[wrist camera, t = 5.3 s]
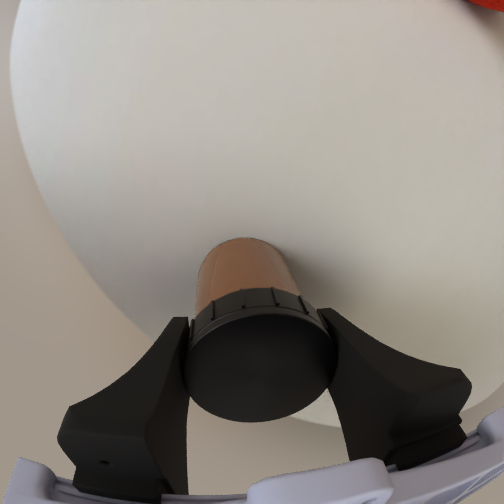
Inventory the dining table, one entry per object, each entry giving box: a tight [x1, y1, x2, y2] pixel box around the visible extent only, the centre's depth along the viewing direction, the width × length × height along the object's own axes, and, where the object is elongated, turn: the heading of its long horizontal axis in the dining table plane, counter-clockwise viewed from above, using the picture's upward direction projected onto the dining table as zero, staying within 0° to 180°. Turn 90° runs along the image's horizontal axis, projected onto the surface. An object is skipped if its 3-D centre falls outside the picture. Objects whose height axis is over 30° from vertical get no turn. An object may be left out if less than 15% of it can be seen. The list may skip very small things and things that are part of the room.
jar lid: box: [182, 287, 337, 422], centre depth 11 cm, size 6×6×2 cm
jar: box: [194, 238, 302, 319], centre depth 14 cm, size 5×5×7 cm
